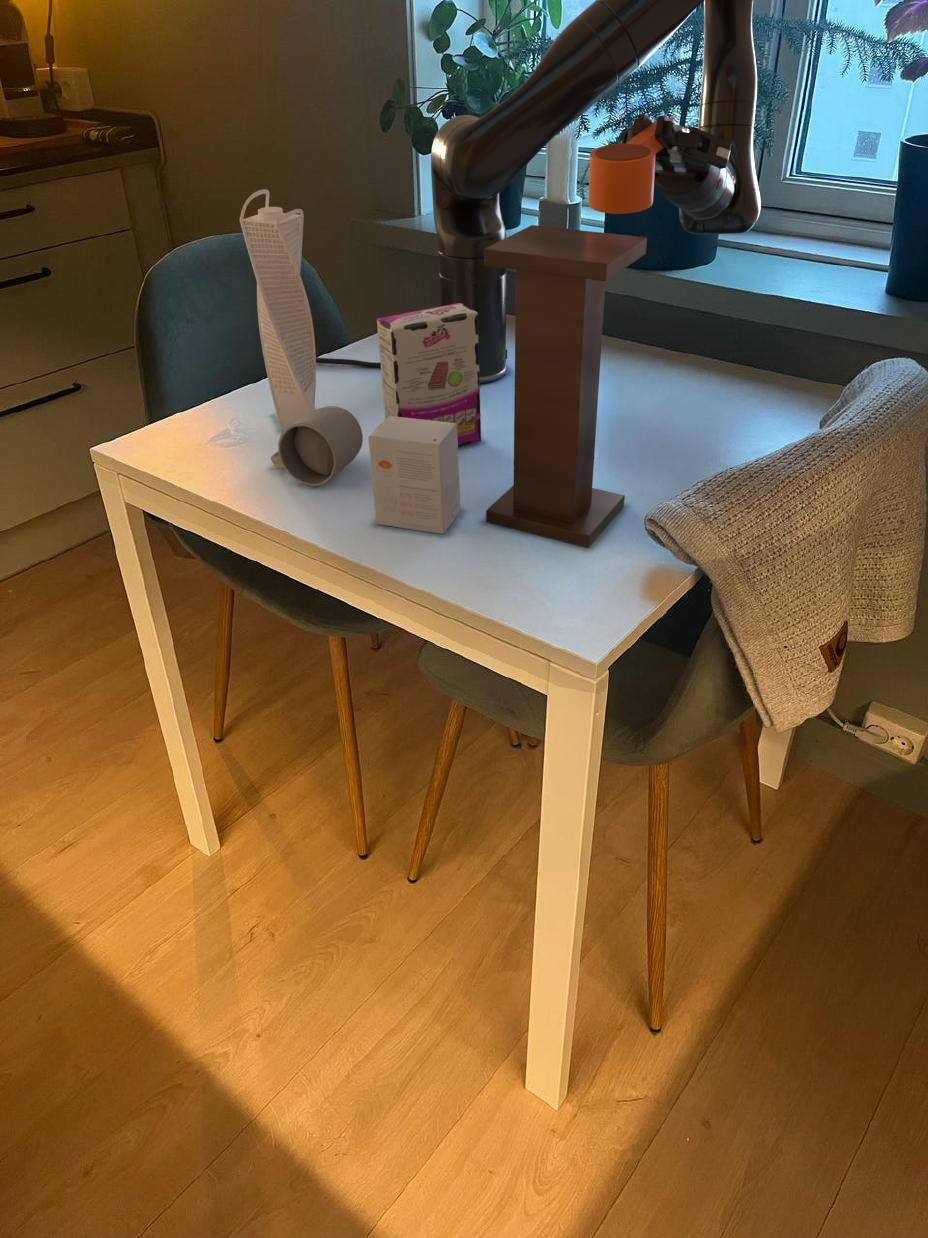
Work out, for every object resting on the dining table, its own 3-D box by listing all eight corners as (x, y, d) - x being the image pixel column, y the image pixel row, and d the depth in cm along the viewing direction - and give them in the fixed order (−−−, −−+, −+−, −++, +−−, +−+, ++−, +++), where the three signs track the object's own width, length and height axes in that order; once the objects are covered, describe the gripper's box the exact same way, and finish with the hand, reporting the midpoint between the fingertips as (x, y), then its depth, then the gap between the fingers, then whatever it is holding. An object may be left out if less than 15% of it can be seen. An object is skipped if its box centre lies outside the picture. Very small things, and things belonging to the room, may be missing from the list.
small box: (461, 511, 106) (459, 422, 100) (444, 536, 101) (440, 444, 95) (394, 501, 108) (388, 413, 102) (374, 525, 104) (367, 434, 98)
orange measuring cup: (636, 163, 107) (639, 115, 103) (692, 168, 104) (696, 118, 101) (578, 210, 96) (579, 158, 93) (639, 216, 93) (642, 162, 90)
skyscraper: (265, 413, 129) (232, 190, 113) (319, 405, 131) (294, 184, 115) (274, 436, 123) (240, 203, 107) (331, 428, 125) (306, 198, 109)
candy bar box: (463, 428, 124) (461, 300, 114) (482, 442, 120) (480, 311, 111) (384, 447, 120) (374, 316, 110) (401, 462, 116) (392, 328, 107)
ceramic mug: (369, 461, 116) (363, 401, 112) (339, 491, 110) (331, 428, 106) (292, 451, 120) (284, 392, 115) (259, 479, 113) (248, 418, 109)
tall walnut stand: (526, 484, 111) (531, 224, 94) (624, 506, 106) (647, 237, 89) (485, 522, 104) (483, 248, 87) (588, 548, 99) (606, 263, 82)
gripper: (641, 134, 115) (594, 82, 100) (755, 141, 110) (724, 87, 94) (628, 200, 117) (579, 159, 102) (739, 210, 111) (706, 169, 96)
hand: (649, 125), depth 98 cm, fingers closed on orange measuring cup
